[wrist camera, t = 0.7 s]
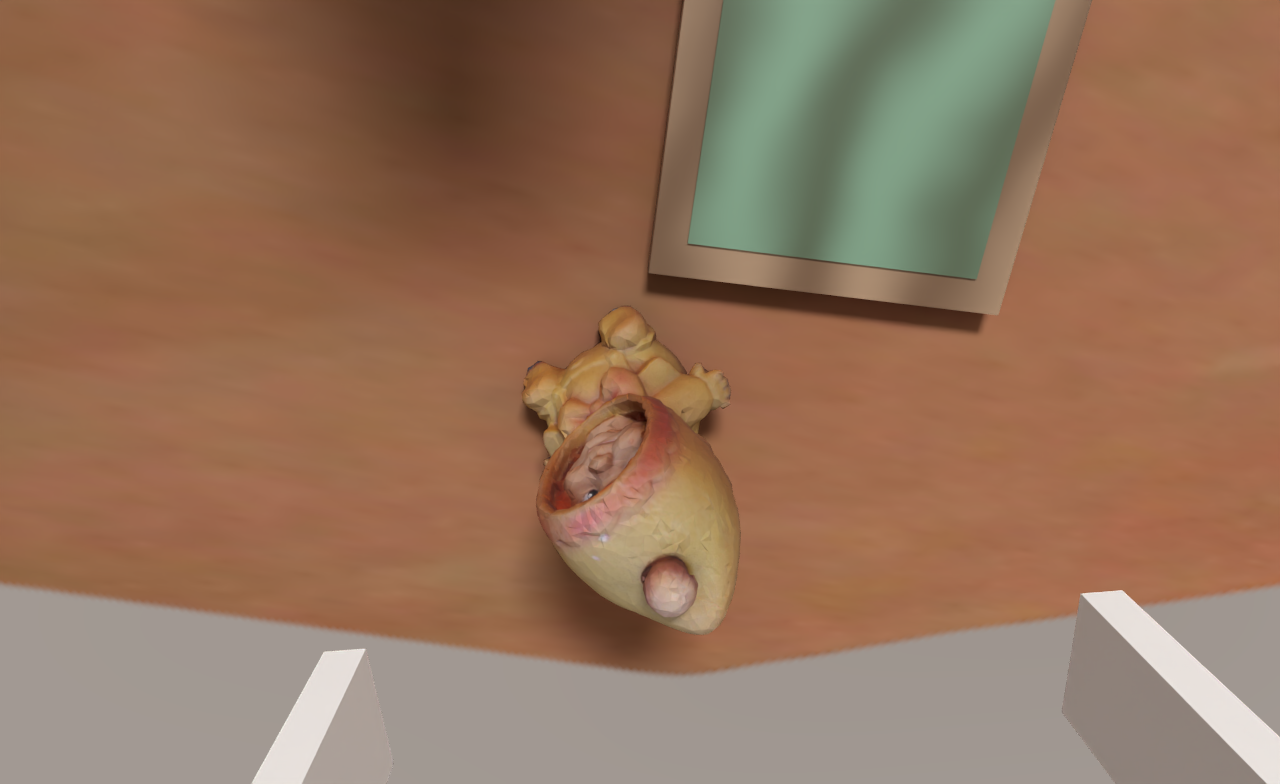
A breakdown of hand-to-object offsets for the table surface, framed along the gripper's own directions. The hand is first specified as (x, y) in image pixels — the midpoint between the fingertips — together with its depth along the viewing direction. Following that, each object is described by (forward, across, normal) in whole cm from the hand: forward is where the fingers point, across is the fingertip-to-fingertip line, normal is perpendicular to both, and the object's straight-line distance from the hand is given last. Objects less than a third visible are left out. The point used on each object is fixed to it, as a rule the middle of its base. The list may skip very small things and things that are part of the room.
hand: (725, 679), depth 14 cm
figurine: (+23, -2, -3) cm, 23 cm away
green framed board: (+22, +10, +13) cm, 28 cm away
